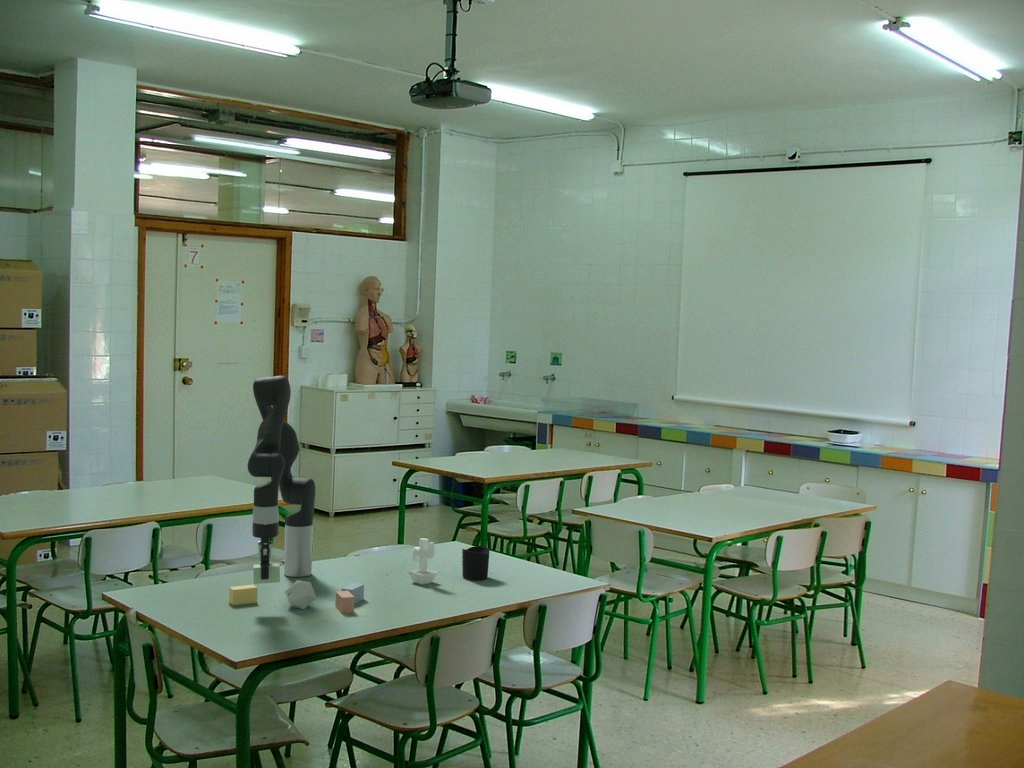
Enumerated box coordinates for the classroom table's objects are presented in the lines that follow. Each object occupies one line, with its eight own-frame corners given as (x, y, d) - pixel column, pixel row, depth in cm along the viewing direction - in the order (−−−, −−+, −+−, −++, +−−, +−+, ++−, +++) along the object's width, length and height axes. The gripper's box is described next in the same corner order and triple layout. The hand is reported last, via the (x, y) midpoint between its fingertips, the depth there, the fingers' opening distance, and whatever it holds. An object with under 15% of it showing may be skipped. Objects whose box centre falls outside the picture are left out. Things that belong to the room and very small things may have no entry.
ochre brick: (229, 602, 306) (229, 587, 305) (253, 599, 310) (253, 584, 310) (232, 605, 303) (233, 590, 302) (257, 602, 307) (257, 587, 306)
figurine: (421, 578, 344) (423, 534, 343) (439, 583, 337) (441, 539, 336) (405, 581, 339) (406, 537, 338) (423, 586, 332) (424, 542, 331)
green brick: (254, 580, 299) (253, 564, 298) (279, 578, 301) (279, 563, 300) (253, 583, 295) (253, 567, 295) (279, 582, 297) (279, 566, 296)
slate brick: (340, 603, 309) (341, 588, 309) (353, 597, 316) (353, 582, 316) (351, 605, 308) (352, 589, 307) (363, 599, 315) (364, 584, 314)
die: (289, 604, 308) (277, 583, 302) (314, 589, 310) (302, 568, 305) (298, 620, 301) (286, 599, 296) (323, 605, 304) (312, 584, 298)
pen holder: (490, 581, 343) (491, 552, 343) (462, 581, 342) (463, 552, 341) (486, 574, 352) (487, 546, 352) (460, 574, 351) (461, 546, 351)
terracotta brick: (341, 613, 298) (341, 597, 298) (335, 607, 305) (335, 591, 305) (353, 612, 300) (354, 596, 299) (347, 606, 307) (348, 590, 306)
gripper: (253, 515, 302) (252, 571, 304) (252, 525, 289) (251, 584, 290) (278, 515, 304) (277, 570, 305) (278, 524, 290) (277, 583, 292)
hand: (264, 576), depth 298 cm, fingers closed on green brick, 3 cm apart
